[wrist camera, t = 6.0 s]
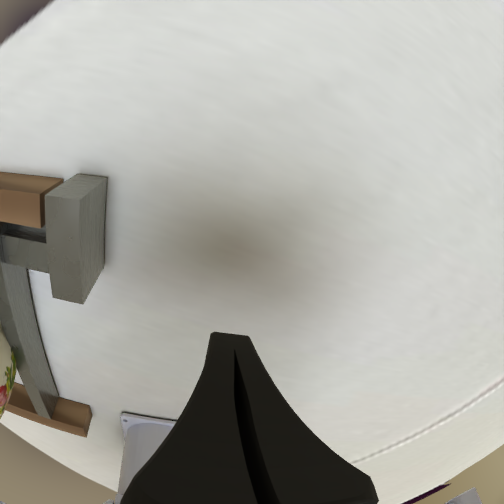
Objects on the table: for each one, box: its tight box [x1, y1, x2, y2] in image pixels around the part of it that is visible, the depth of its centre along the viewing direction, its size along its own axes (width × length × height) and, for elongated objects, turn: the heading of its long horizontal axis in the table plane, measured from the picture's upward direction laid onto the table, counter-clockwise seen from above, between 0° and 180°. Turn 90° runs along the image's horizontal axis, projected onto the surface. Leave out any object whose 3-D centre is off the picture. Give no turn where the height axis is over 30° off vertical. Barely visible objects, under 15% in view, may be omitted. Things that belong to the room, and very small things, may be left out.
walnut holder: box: [0, 172, 92, 438], centre depth 19 cm, size 25×11×3 cm, turn 167°
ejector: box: [0, 174, 107, 419], centre depth 19 cm, size 23×8×4 cm, turn 167°
